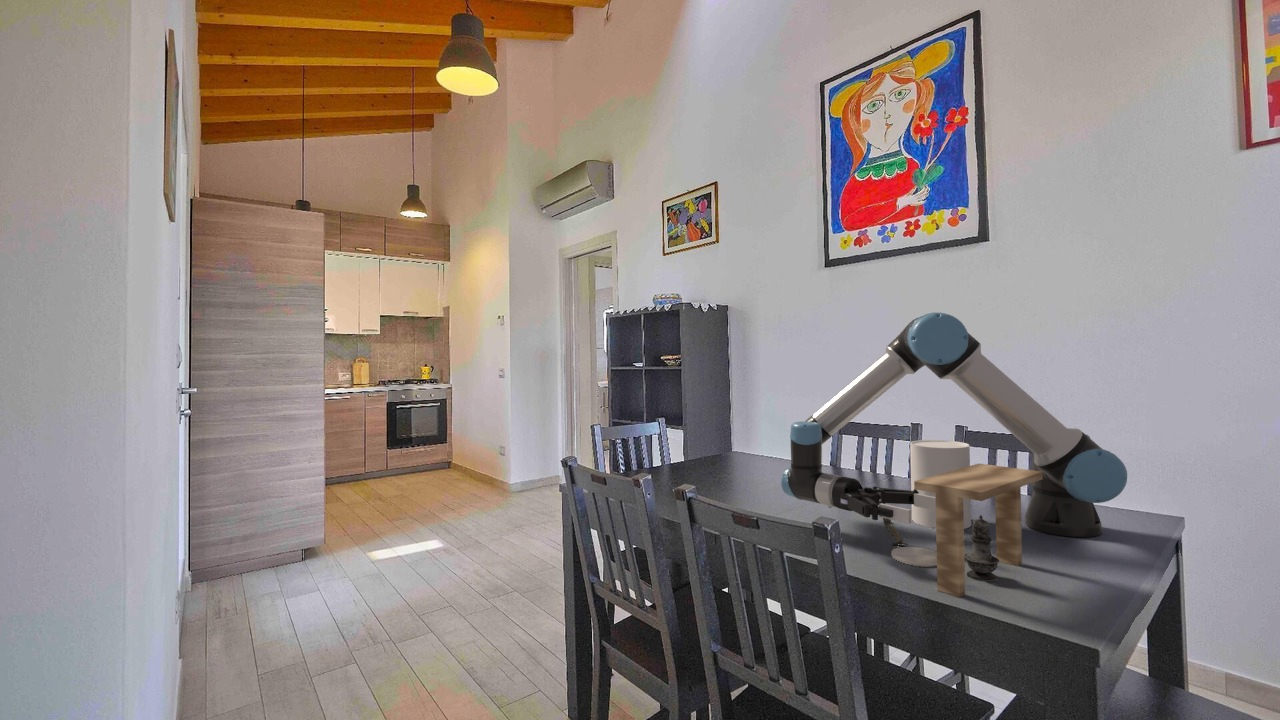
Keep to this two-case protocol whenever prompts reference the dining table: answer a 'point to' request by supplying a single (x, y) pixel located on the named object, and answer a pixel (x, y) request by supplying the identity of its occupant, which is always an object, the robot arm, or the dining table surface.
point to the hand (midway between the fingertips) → (927, 511)
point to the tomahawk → (894, 533)
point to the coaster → (915, 556)
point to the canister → (937, 472)
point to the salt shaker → (981, 553)
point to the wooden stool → (950, 515)
